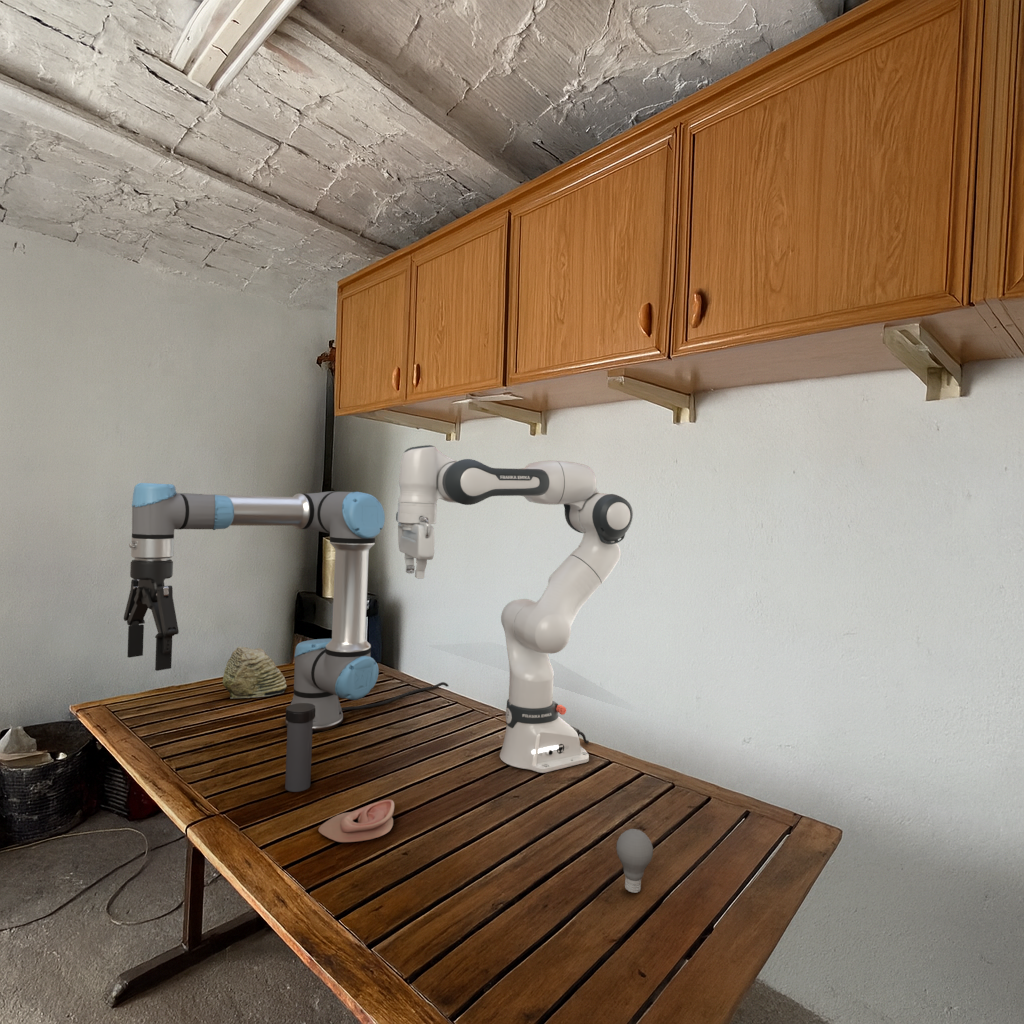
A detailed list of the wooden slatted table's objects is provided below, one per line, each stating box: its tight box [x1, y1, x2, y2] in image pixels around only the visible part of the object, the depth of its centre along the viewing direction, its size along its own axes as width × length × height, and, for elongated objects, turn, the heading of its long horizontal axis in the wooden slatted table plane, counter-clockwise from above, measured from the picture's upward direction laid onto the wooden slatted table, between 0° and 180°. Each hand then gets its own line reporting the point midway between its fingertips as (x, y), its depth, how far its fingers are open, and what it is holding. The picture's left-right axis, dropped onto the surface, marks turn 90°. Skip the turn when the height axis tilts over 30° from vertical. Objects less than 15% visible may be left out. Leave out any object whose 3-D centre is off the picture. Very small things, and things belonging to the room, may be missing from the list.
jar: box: [284, 720, 313, 793], centre depth 138 cm, size 5×5×17 cm
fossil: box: [222, 646, 288, 699], centre depth 198 cm, size 9×18×15 cm, turn 132°
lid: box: [285, 703, 315, 723], centre depth 138 cm, size 6×6×2 cm
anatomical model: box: [317, 799, 395, 843], centre depth 122 cm, size 13×4×12 cm
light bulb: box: [615, 828, 654, 894], centre depth 106 cm, size 6×6×10 cm
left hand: (148, 662), depth 129 cm, fingers open, 13 cm apart
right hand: (414, 575), depth 146 cm, fingers open, 8 cm apart
